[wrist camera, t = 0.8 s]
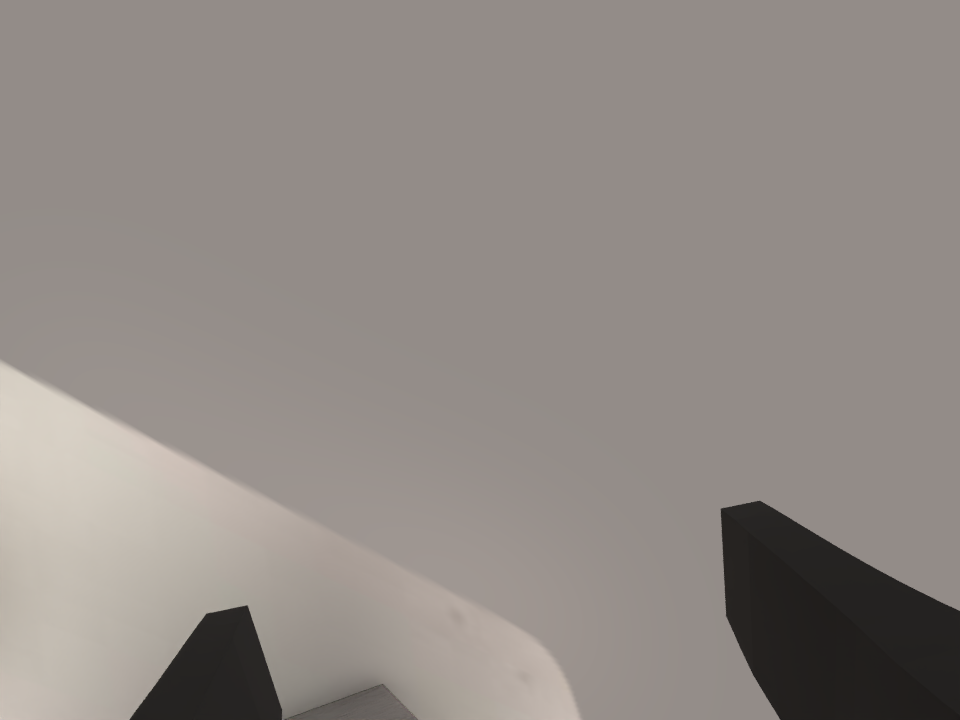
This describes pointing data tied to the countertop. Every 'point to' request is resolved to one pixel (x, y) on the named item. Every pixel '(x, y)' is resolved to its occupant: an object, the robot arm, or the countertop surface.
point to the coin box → (361, 708)
